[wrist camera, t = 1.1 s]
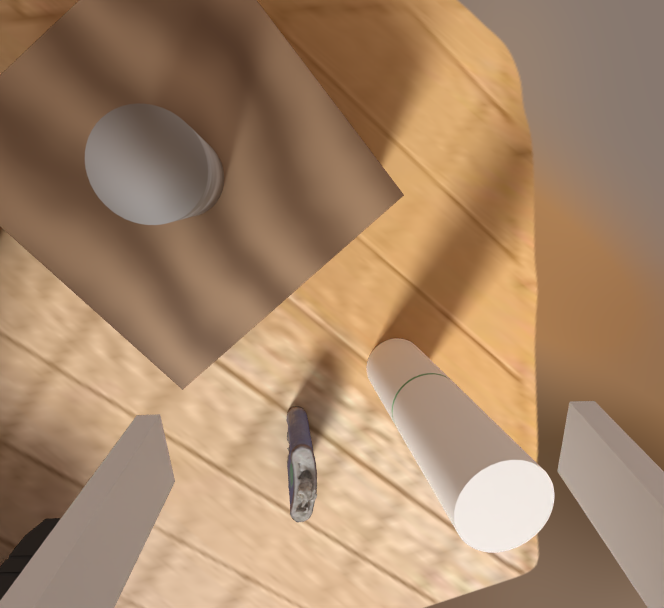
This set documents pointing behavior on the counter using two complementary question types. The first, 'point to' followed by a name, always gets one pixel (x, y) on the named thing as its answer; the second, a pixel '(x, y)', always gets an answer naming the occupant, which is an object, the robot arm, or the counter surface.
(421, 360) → the cylindrical container
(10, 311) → the counter surface
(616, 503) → the robot arm
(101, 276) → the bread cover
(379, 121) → the counter surface
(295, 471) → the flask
